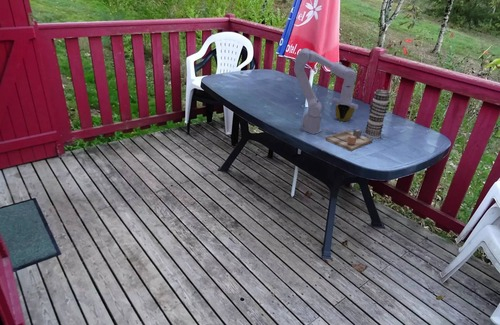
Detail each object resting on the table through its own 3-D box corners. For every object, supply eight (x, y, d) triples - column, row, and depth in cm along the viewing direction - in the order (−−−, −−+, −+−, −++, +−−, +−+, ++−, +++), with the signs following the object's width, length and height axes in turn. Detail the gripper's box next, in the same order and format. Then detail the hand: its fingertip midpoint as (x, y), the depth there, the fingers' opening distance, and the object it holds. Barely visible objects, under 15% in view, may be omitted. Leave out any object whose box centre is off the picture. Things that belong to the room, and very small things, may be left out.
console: (325, 140, 187) (325, 137, 186) (346, 132, 198) (347, 129, 197) (351, 151, 176) (351, 148, 175) (372, 142, 188) (372, 139, 187)
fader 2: (352, 135, 189) (353, 129, 187) (355, 134, 191) (357, 128, 189) (357, 137, 187) (358, 131, 185) (360, 136, 189) (362, 130, 187)
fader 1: (347, 142, 180) (348, 136, 179) (350, 141, 182) (351, 134, 181) (352, 144, 178) (353, 138, 177) (355, 143, 180) (356, 136, 179)
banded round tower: (381, 139, 192) (393, 94, 181) (364, 136, 194) (374, 91, 183) (380, 133, 200) (391, 89, 189) (363, 130, 202) (373, 87, 191)
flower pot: (340, 116, 222) (343, 102, 218) (353, 120, 217) (356, 106, 212) (332, 119, 216) (335, 104, 212) (345, 123, 211) (348, 108, 207)
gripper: (330, 91, 186) (326, 116, 192) (355, 98, 177) (350, 124, 183) (337, 89, 190) (333, 113, 197) (362, 96, 182) (357, 121, 188)
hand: (342, 118), depth 190 cm, fingers closed
